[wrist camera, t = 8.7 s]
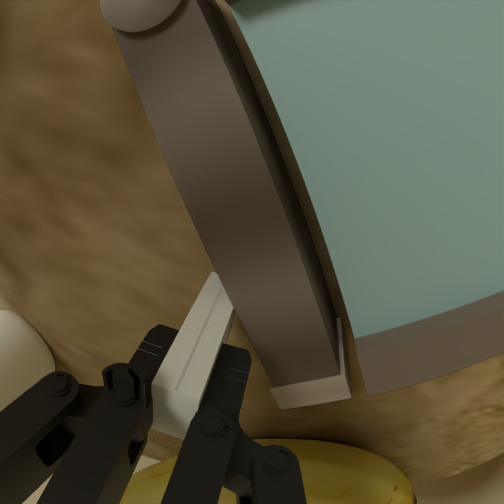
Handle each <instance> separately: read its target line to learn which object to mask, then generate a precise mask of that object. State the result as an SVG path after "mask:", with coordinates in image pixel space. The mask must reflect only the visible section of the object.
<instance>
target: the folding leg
mask: <svg viewBox="0 0 504 504" xmlns="http://www.w3.org/2000/svg"><path fill="white" fill-rule="evenodd" d="M100 10H101V14H102V16H103V18H104V20H105V21H106V22H107V23H108V24H109V25H110V26H112V29H113V31H114V34H115V37H116V39H117V42H118V45H119V47H120V50H121V52H122V55H123V58H124V60H125V63H126V65H127V68H128V70H129V73H130V75H131V78H132V81H133V83H134V86H135V88H136V91H137V93H138V95H139V98H140V100H141V103H142V105H143V108H144V110H145V113H146V115H147V117H148V120H149V122H150V125H151V127H152V129H153V132H154V134H155V137H156V139H157V141H158V144H159V146H160V148H161V151H162V153H163V155H164V158H165V160H166V162H167V165H168V167H169V169H170V171H171V174H172V176H173V178H174V181H175V183H176V185H177V187H178V190H179V192H180V194H181V196H182V199H183V201H184V203H185V205H186V208H187V210H188V212H189V214H190V216H191V219H192V221H193V223H194V225H195V227H196V230H197V232H198V234H199V236H200V238H201V240H202V243H203V245H204V247H205V249H206V251H207V253H208V255H209V257H210V260H211V262H212V264H213V266H214V268H215V270H216V272H217V274H218V276H219V279H220V281H221V283H222V285H223V287H224V289H225V291H226V293H227V295H228V297H229V299H230V301H231V303H232V305H233V308H234V310H235V312H236V314H237V316H238V318H239V320H240V322H241V324H242V326H243V328H244V330H245V332H246V334H247V336H248V338H249V340H250V342H251V344H252V346H253V348H254V350H255V352H256V354H257V356H258V358H259V359H260V361H261V363H262V365H263V367H264V369H265V371H266V373H267V375H268V377H269V379H270V387H269V390H270V392H271V393H272V395H273V397H274V399H275V401H276V403H277V404H278V406H279V408H280V410H281V409H289V408H296V407H303V406H309V405H315V404H321V403H327V402H332V401H338V400H343V399H348V398H351V384H350V370H349V358H348V347H347V339H346V335H345V331H344V328H343V324H342V321H341V318H340V317H339V318H336V315H335V312H334V308H333V305H332V302H331V299H330V295H329V292H328V289H327V286H326V283H325V279H324V276H323V273H322V270H321V267H320V264H319V261H318V258H317V255H316V252H315V249H314V246H313V243H312V240H311V237H310V234H309V231H308V228H307V225H306V222H305V220H304V217H303V214H302V211H301V208H300V205H299V203H298V200H297V197H296V194H295V191H294V189H293V186H292V183H291V181H290V178H289V175H288V172H287V170H286V167H285V164H284V162H283V159H282V157H281V154H280V151H279V149H278V146H277V144H276V141H275V138H274V136H273V133H272V131H271V128H270V126H269V123H268V121H267V118H266V116H265V113H264V111H263V108H262V106H261V103H260V101H259V99H258V96H257V94H256V91H255V89H254V87H253V84H252V82H251V80H250V77H249V75H248V73H247V70H246V68H245V66H244V63H243V61H242V59H241V57H240V54H239V52H238V50H237V47H236V45H235V43H234V41H233V39H232V36H231V34H230V32H229V30H228V28H227V26H226V23H225V21H224V19H223V17H222V15H221V13H220V11H219V10H218V7H217V4H216V2H215V1H214V0H100Z"/></svg>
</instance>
